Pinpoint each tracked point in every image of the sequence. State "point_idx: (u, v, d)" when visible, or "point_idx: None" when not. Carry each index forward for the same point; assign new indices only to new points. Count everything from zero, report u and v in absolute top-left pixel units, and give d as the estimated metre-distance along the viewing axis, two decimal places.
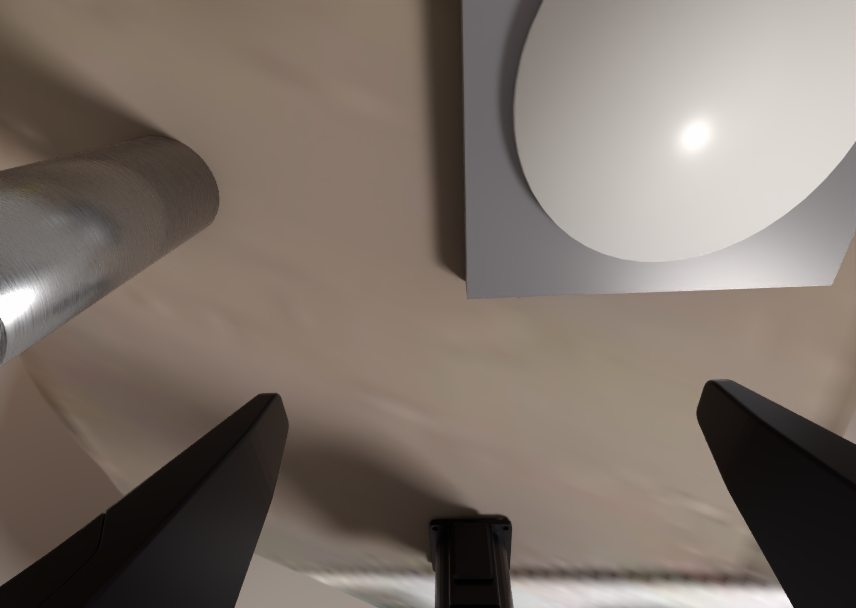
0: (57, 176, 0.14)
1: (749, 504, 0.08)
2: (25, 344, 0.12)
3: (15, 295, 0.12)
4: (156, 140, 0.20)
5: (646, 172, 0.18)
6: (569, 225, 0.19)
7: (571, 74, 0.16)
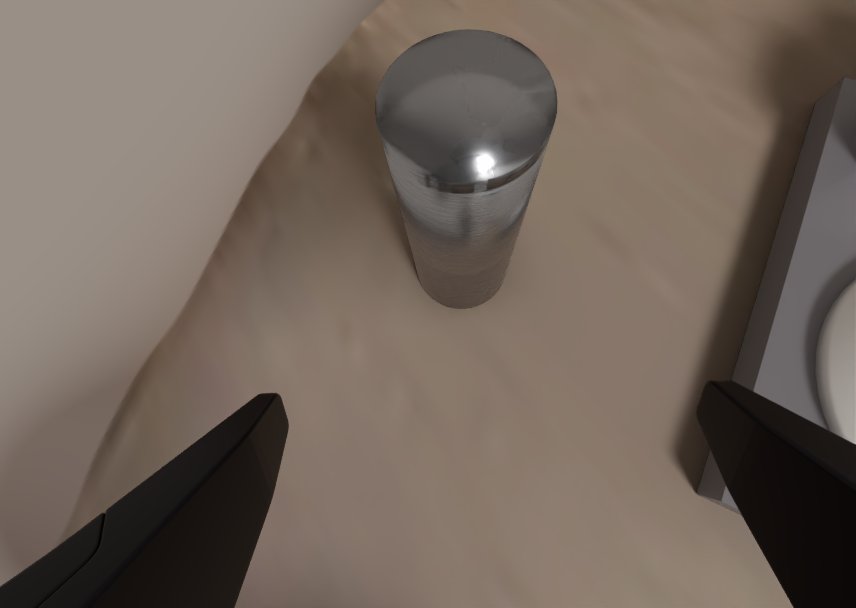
0: None
1: (749, 504, 0.08)
2: (495, 200, 0.12)
3: (540, 160, 0.13)
4: None
5: None
6: None
7: None
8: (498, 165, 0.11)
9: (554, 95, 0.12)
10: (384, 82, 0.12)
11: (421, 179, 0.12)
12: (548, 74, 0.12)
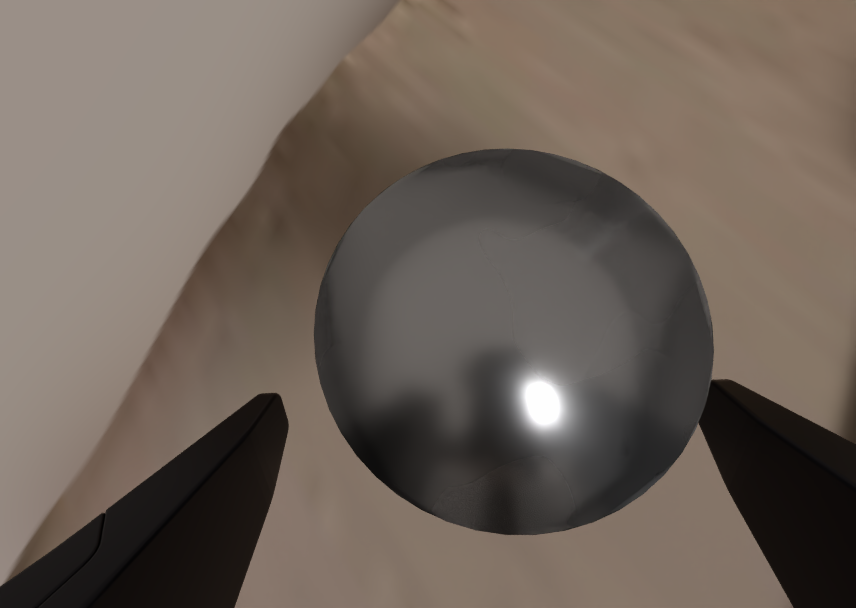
0: None
1: (749, 504, 0.08)
2: None
3: None
4: None
5: None
6: None
7: None
8: (587, 491, 0.05)
9: (704, 311, 0.05)
10: (336, 263, 0.06)
11: (410, 496, 0.05)
12: (681, 254, 0.06)
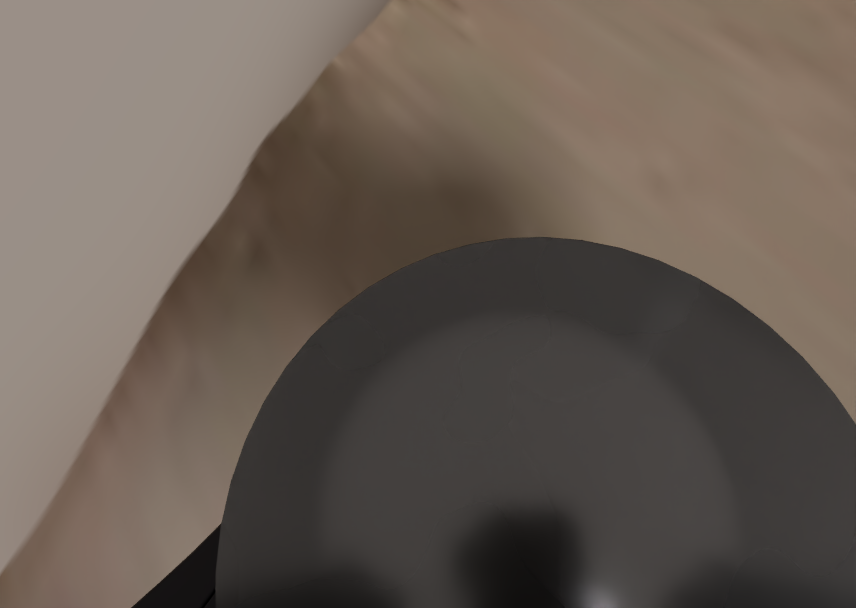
0: None
1: None
2: None
3: None
4: None
5: None
6: None
7: None
8: None
9: None
10: (260, 436, 0.04)
11: None
12: (846, 431, 0.03)
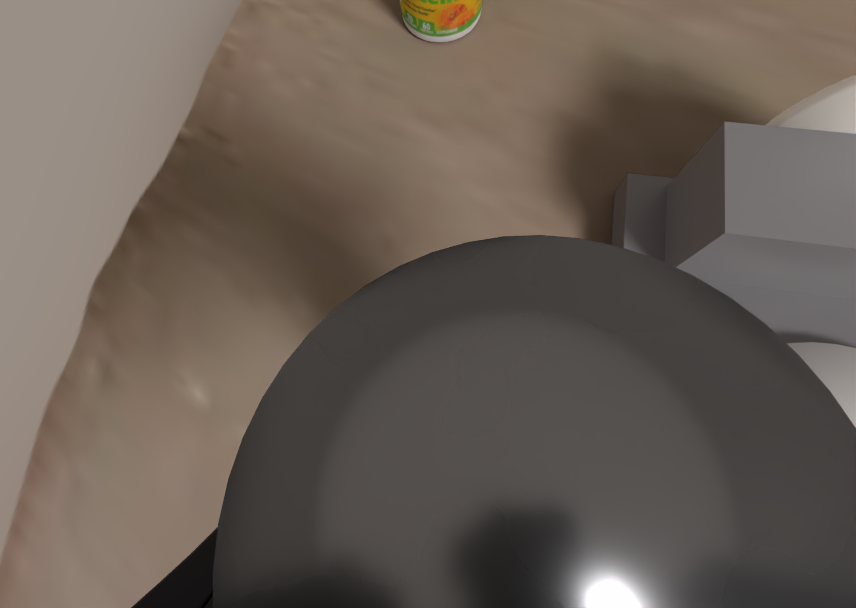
0: None
1: None
2: None
3: None
4: None
5: None
6: None
7: None
8: None
9: None
10: (257, 434, 0.04)
11: None
12: (841, 428, 0.03)
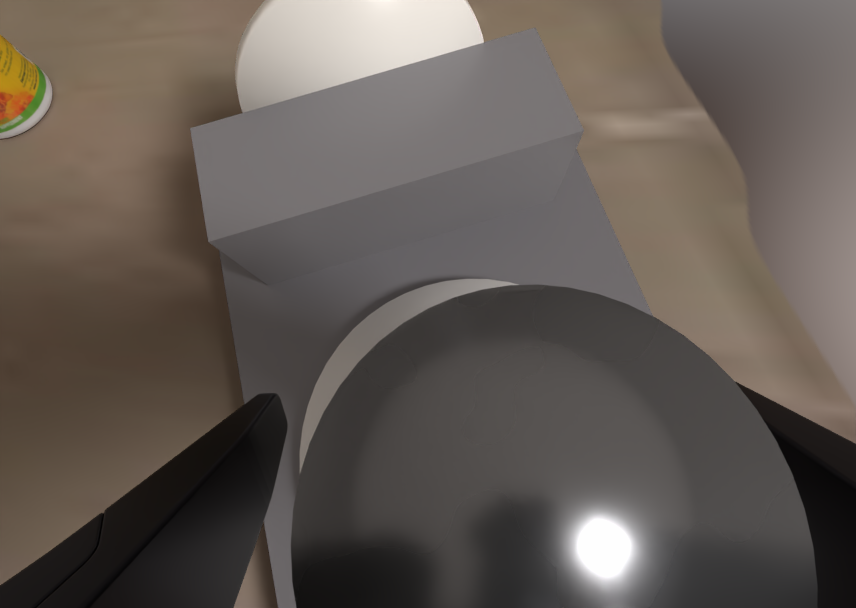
0: None
1: None
2: None
3: None
4: None
5: None
6: None
7: None
8: None
9: (803, 524, 0.04)
10: (321, 440, 0.05)
11: None
12: (764, 435, 0.04)
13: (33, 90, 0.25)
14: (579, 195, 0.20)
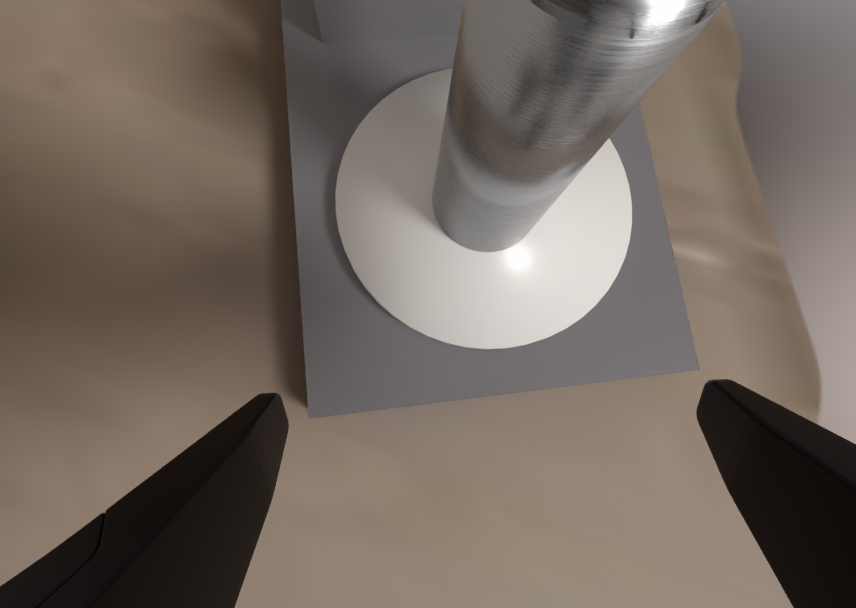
0: None
1: (749, 504, 0.08)
2: (629, 67, 0.08)
3: (705, 23, 0.08)
4: None
5: (465, 259, 0.19)
6: (405, 313, 0.19)
7: (379, 186, 0.20)
8: None
9: None
10: None
11: None
12: None
13: None
14: None
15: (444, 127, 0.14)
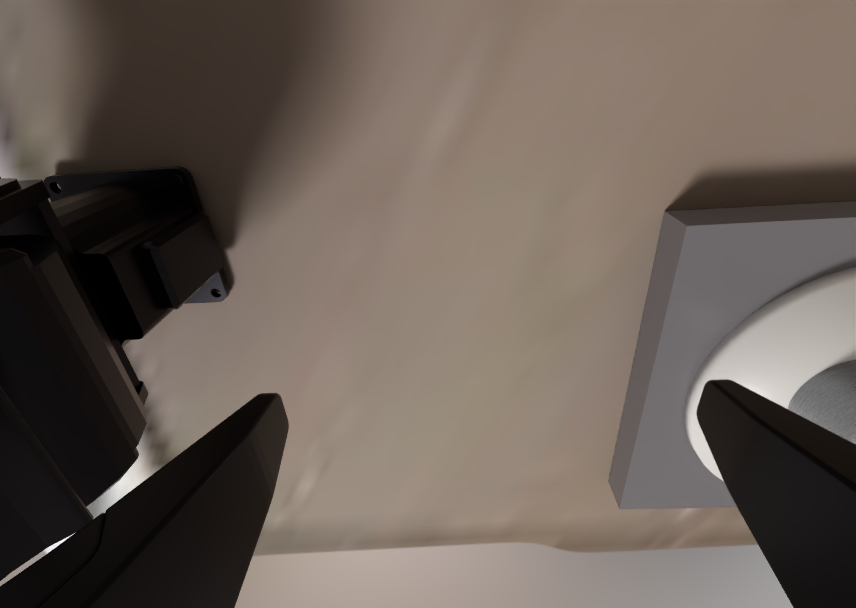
0: None
1: (749, 504, 0.08)
2: None
3: None
4: None
5: (794, 380, 0.20)
6: (766, 328, 0.19)
7: None
8: None
9: None
10: None
11: None
12: None
13: None
14: None
15: None
